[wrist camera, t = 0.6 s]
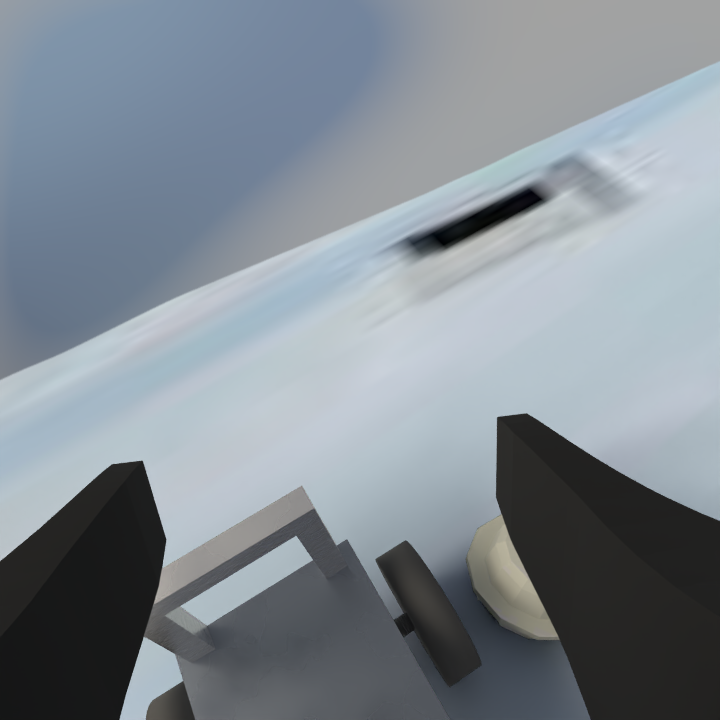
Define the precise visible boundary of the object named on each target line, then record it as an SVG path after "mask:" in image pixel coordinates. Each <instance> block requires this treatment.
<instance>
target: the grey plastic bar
mask: <svg viewBox="0 0 720 720" xmlns="http://www.w3.org/2000/svg"><path fill="white" fill-rule="evenodd" d="M466 563H467V567H468V571H469V575H470V579H471V583H472V588H473V592H474V593H475V594H476V595H477V599H478V601H479V600H480V601H481V602H482V603H483V605H484V606H485V607H486V608H487V609H488V610H489V612H490V613H491V614H492V615H493V616H494V617H495V619H496V620H497V621H498V622H499V625H500V626H502V627H504V628H506V629H508V630H510V631H512V632H514V633H516V634H518V635H520V636H522V637H525V638H527V639H530V638H534V639H536V640H560V639H559V637H558V635H557V633H556V631H555V629H554V627H553V625H552V623H551V621H550V619H549V617H548V615H547V613H546V611H545V609H544V607H543V605H542V603H541V601H540V599H539V597H538V595H537V593H536V591H535V589H534V587H533V585H532V583H531V581H530V579H529V577H528V575H527V573H526V571H525V569H524V566H523V564H522V562H521V560H520V558H519V556H518V554H517V552H516V550H515V548H514V546H513V544H512V542H511V540H510V537H509V534H508V531H507V528H506V525H505V523H504V520H503V517H502V514H501V515H500V516H498V517H496V518H495V519H493V520H491V521H490V522H488V523H486V524H484V525H483V526H481V527H479V528H478V529H477V531H476V534H475V536H474V539H473V541H472V544H471V546H470V549H469V551H468V554H467V557H466Z"/></svg>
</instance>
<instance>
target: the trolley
mask: <svg viewBox="0 0 720 720" xmlns="http://www.w3.org/2000/svg"><path fill="white" fill-rule="evenodd" d="M295 536H297V537H298V539H299V540H300V541H301V543H302V544H303V546H304V547H305V549H306V550H307V552H308V553H309V554H310V556H311V557H312V559H313V561H311V562H310V563H308V564H306V565H305V566H303V567H301V568H300V569H298V570H297V571H295V572H293V573H292V574H290V575H289V576H287V577H285V578H284V579H282V580H280V581H279V582H277V583H276V584H274V585H272V586H271V587H269V588H268V589H266V590H264V591H263V592H261V593H260V594H258V595H256V596H255V597H253V598H251V599H250V600H248V601H247V602H245V603H243V604H242V605H240V606H239V607H237V608H235V609H234V610H232V611H230V612H229V613H227V614H226V615H224V616H222V617H221V618H219V619H218V620H216V621H214V622H213V623H211V624H210V625H208V626H207V625H205V624H204V623H203V622H201V621H200V620H198V619H197V618H196V617H194V616H193V615H191V614H190V613H189V612H187V611H186V610H184V609H183V608H182V607H180V606H181V605H183V604H184V603H186V602H188V601H189V600H191V599H193V598H194V597H196V596H198V595H199V594H201V593H202V592H204V591H206V590H207V589H209V588H211V587H212V586H214V585H216V584H217V583H219V582H221V581H222V580H224V579H225V578H227V577H229V576H230V575H232V574H234V573H235V572H237V571H239V570H240V569H242V568H244V567H245V566H247V565H248V564H250V563H252V562H253V561H255V560H257V559H258V558H260V557H262V556H263V555H265V554H267V553H268V552H270V551H272V550H273V549H275V548H276V547H278V546H280V545H281V544H283V543H285V542H286V541H288V540H290V539H291V538H293V537H295ZM376 562H377V564H378V566H379V568H380V570H381V572H382V574H383V576H384V578H385V580H386V582H387V584H388V585H389V587H390V589H391V591H392V593H393V594H394V596H395V598H396V600H397V602H398V603H399V605H400V607H401V609H402V610H403V612H404V614H403V615H401V616H400V617H398V618H397V619H395V620H393V619H392V617H391V615H390V613H389V612H388V610H387V608H386V606H385V605H384V603H383V601H382V599H381V598H380V596H379V594H378V592H377V591H376V589H375V587H374V586H373V584H372V582H371V580H370V579H369V577H368V575H367V573H366V572H365V570H364V568H363V566H362V565H361V563H360V561H359V559H358V558H357V556H356V554H355V552H354V551H353V549H352V547H351V545H350V544H349V542H348V540H345V541H343V542H342V543H340V544H339V545H336V543H335V542H334V540H333V538H332V537H331V535H330V533H329V531H328V530H327V528H326V526H325V525H324V523H323V521H322V519H321V518H320V516H319V514H318V513H317V511H316V509H315V507H314V506H313V504H312V502H311V500H310V499H309V497H308V495H307V494H306V492H305V490H304V488H303V487H302V486H301V487H299V488H297V489H296V490H294V491H292V492H290V493H289V494H287V495H285V496H284V497H282V498H280V499H279V500H277V501H275V502H274V503H272V504H270V505H269V506H267V507H265V508H263V509H262V510H260V511H258V512H257V513H255V514H253V515H252V516H250V517H248V518H247V519H245V520H243V521H242V522H240V523H238V524H236V525H235V526H233V527H231V528H230V529H228V530H226V531H225V532H223V533H221V534H220V535H218V536H216V537H215V538H213V539H211V540H209V541H208V542H206V543H204V544H203V545H201V546H199V547H198V548H196V549H194V550H193V551H191V552H189V553H188V554H186V555H184V556H182V557H181V558H179V559H177V560H176V561H174V562H172V563H171V564H169V565H167V566H166V567H164V568H162V571H161V577H160V583H159V587H158V591H157V594H156V598H155V601H154V604H153V608H152V611H151V615H150V618H149V621H148V624H147V628H146V631H145V634H144V637H146V638H148V639H150V640H151V641H153V642H155V643H157V644H158V645H160V646H162V647H164V648H166V649H167V650H169V651H171V652H173V653H174V654H175V655H176V658H177V661H178V665H179V668H180V671H181V674H182V678H183V681H182V682H181V683H179V684H178V685H176V686H175V687H173V688H171V689H170V690H168V691H167V692H165V693H164V694H162V695H160V696H159V697H157V698H156V699H154V700H153V701H152V702H151V703H150V705H149V707H148V710H147V715H146V720H450V718H449V717H448V715H447V713H446V711H445V710H444V708H443V706H442V704H441V703H440V701H439V699H438V697H437V696H436V694H435V692H434V690H433V689H432V687H431V685H430V683H429V682H428V680H427V678H426V676H425V675H424V673H423V671H422V669H421V668H420V666H419V664H418V662H417V661H416V659H415V657H414V655H413V654H412V652H411V650H410V648H409V647H408V645H407V643H406V641H405V640H404V638H403V637H405V636H406V635H408V634H409V633H411V632H412V631H415V633H416V635H417V636H418V638H419V640H420V641H421V643H422V645H423V647H424V648H425V650H426V652H427V653H428V655H429V657H430V658H431V660H432V661H433V663H434V665H435V666H436V668H437V670H438V671H439V673H440V674H441V676H442V677H443V679H444V681H445V682H446V683H447V685H448V686H449V687H451V686H452V685H454V684H455V683H457V682H458V681H460V680H461V679H462V678H464V677H465V676H467V675H468V674H470V673H471V672H473V671H474V670H475V669H477V668H478V667H480V666H481V660H480V657H479V655H478V653H477V651H476V649H475V647H474V645H473V643H472V641H471V639H470V637H469V635H468V633H467V631H466V629H465V628H464V626H463V624H462V622H461V620H460V619H459V617H458V615H457V613H456V612H455V610H454V608H453V607H452V605H451V603H450V602H449V600H448V598H447V597H446V595H445V594H444V592H443V590H442V589H441V587H440V586H439V584H438V582H437V581H436V579H435V578H434V576H433V575H432V573H431V572H430V570H429V569H428V567H427V566H426V564H425V563H424V562H423V560H422V559H421V557H420V556H419V555H418V553H417V552H416V551H415V549H414V548H413V547H412V546H411V545H410V544H409V543H408V542H407V541H404V542H402V543H401V544H399V545H397V546H396V547H394V548H393V549H391V550H389V551H388V552H386V553H385V554H383V555H382V556H380V557H378V558H377V559H376Z"/></svg>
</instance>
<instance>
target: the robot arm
mask: <svg viewBox="0 0 720 720" xmlns="http://www.w3.org/2000/svg"><path fill="white" fill-rule="evenodd" d="M496 498H497V501H498V504H499V507H500V510H501V514H502V517H503V520H504V523H505V525H506V528H507V531H508V534H509V537H510V540H511V542H512V544H513V546H514V548H515V550H516V552H517V554H518V556H519V558H520V560H521V562H522V564H523V566H524V569H525V571H526V573H527V575H528V577H529V579H530V581H531V583H532V585H533V587H534V589H535V591H536V593H537V595H538V597H539V599H540V601H541V603H542V605H543V607H544V609H545V611H546V613H547V615H548V617H549V619H550V621H551V623H552V625H553V627H554V629H555V631H556V633H557V635H558V637H559V639H560V642H561V644H562V646H563V648H564V651H565V653H566V655H567V657H568V660H569V662H570V665H571V668H572V670H573V673H574V676H575V678H576V681H577V684H578V686H579V689H580V692H581V694H582V697H583V699H584V702H585V705H586V707H587V710H588V713H589V716H590V719H591V720H720V521H718V520H716V519H713V518H711V517H709V516H706V515H704V514H701V513H699V512H697V511H695V510H693V509H690V508H688V507H686V506H684V505H682V504H680V503H677V502H675V501H673V500H671V499H669V498H667V497H664V496H663V495H661V494H659V493H657V492H655V491H653V490H651V489H649V488H647V487H645V486H643V485H641V484H640V483H638V482H636V481H634V480H632V479H631V478H629V477H627V476H625V475H623V474H621V473H620V472H618V471H616V470H615V469H613V468H611V467H610V466H608V465H606V464H604V463H603V462H601V461H600V460H598V459H596V458H595V457H593V456H592V455H590V454H588V453H587V452H585V451H584V450H582V449H581V448H579V447H577V446H576V445H574V444H573V443H571V442H570V441H568V440H567V439H565V438H564V437H562V436H561V435H559V434H558V433H556V432H555V431H553V430H552V429H550V428H549V427H547V426H546V425H544V424H543V423H541V422H540V421H538V420H537V419H535V418H533V417H532V416H530V415H528V414H527V413H526V414H518V415H510V416H502V417H497V471H496ZM165 545H166V537H165V534H164V530H163V527H162V524H161V520H160V517H159V514H158V510H157V507H156V504H155V500H154V497H153V494H152V490H151V487H150V484H149V480H148V477H147V474H146V470H145V467H144V464H143V461H136V462H128V463H119V464H112V465H111V466H109V467H108V468H107V469H106V470H104V471H103V472H102V473H101V474H100V475H98V476H97V477H96V478H95V479H94V480H93V481H92V482H91V483H89V484H88V485H87V486H86V487H85V488H84V489H83V490H82V491H81V492H80V493H78V494H77V495H76V496H75V497H74V498H73V499H72V500H71V501H70V502H69V503H67V504H66V505H65V506H64V507H63V508H62V509H61V510H60V511H59V512H57V513H56V514H55V515H54V516H53V517H52V518H51V519H50V520H49V521H47V522H46V523H45V524H44V525H43V526H42V527H41V528H40V529H38V530H37V531H36V532H35V533H34V534H33V535H31V536H30V537H29V538H28V539H26V540H25V541H24V542H23V543H22V544H20V545H19V546H18V547H17V548H16V549H14V550H13V551H12V552H11V553H10V554H8V555H7V556H6V557H5V558H4V559H2V560H1V561H0V720H119V719H120V715H121V711H122V707H123V704H124V700H125V696H126V692H127V689H128V686H129V683H130V680H131V676H132V673H133V670H134V667H135V663H136V660H137V657H138V654H139V650H140V647H141V644H142V641H143V637H144V634H145V631H146V628H147V624H148V621H149V618H150V615H151V611H152V608H153V604H154V601H155V598H156V594H157V591H158V587H159V583H160V577H161V571H162V565H163V559H164V552H165Z"/></svg>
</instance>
